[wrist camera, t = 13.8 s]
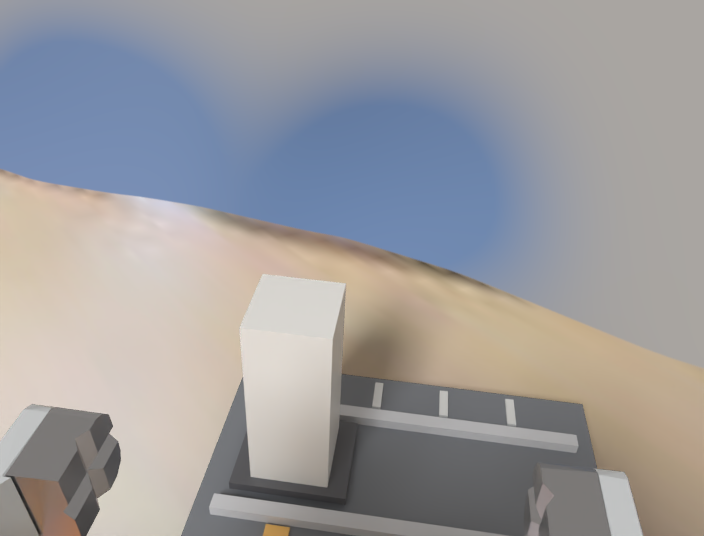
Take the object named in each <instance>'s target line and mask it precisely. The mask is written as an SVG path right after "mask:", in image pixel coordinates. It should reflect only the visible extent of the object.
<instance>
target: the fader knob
mask: <svg viewBox="0 0 704 536" xmlns="http://www.w3.org/2000/svg"><path fill="white" fill-rule="evenodd" d="M345 293H346V283H337V282H328V281H319V280H311V279H302V278H293V277H284V276H275V275H267V274H263V275H262V277H261V279H260V281H259V284H258V286H257V288H256V291H255V293H254V295H253V298H252V300H251V302H250V304H249V307H248V309H247V311H246V314H245V316H244V318H243V321H242V323H241V325H240V328H239V329H240V342H241V356H242V369H243V382H244V395H245V409H246V422H247V431H246V434H245V437H244V440H243V443H242V446H241V449H240V452H239V454H238V457H237V460H236V463H235V466H234V469H233V472H232V475H231V478H230V480H229V488H230V489H237V490H244V491H251V492H258V493H265V494H272V495H279V496H286V497H293V498H300V499H307V500H314V501H321V502H328V503H335V504H342V505H345V503H346V497H347V490H348V484H349V478H350V472H351V465H352V459H353V453H354V447H355V441H356V434H357V427H358V423H355V422H348V421H340V420H339V418H340V397H341V376H342V356H343V335H344V314H345Z"/></svg>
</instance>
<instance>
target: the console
mask: <svg viewBox="0 0 704 536" xmlns="http://www.w3.org/2000/svg"><path fill="white" fill-rule="evenodd" d="M339 420H340V421H348V422H355V423H358V427H357V434H356V441H355V447H354V453H353V459H352V465H351V472H350V478H349V484H348V490H347V497H346V503H345V505H342V504H335V503H328V502H321V501H314V500H307V499H300V498H293V497H286V496H279V495H272V494H265V493H258V492H251V491H244V490H237V489H230V488H229V480H230V478H231V475H232V472H233V469H234V466H235V463H236V460H237V457H238V454H239V452H240V449H241V446H242V443H243V440H244V437H245V434H246V431H247V422H246V409H245V395H244V382H243V378H242V380H241V383H240V385H239V388H238V391H237V393H236V396H235V398H234V401H233V403H232V406H231V409H230V411H229V414H228V416H227V419H226V421H225V424H224V427H223V429H222V432H221V434H220V437H219V439H218V442H217V445H216V447H215V450H214V452H213V455H212V458H211V460H210V463H209V465H208V468H207V470H206V473H205V476H204V478H203V481H202V483H201V486H200V488H199V491H198V494H197V496H196V499H195V501H194V504H193V507H192V509H191V512H190V514H189V517H188V519H187V522H186V525H185V527H184V530H183V532H182V535H181V536H525V533H524V508H525V500H526V496H527V492H528V489H530V488H532V487H533V477H532V474H533V470H534V467H535V465H536V464H537V462H541V463H551V464H561V465H571V466H582V467H592V468H593V469H597V466H596V462H595V457H594V453H593V449H592V444H591V440H590V435H589V431H588V427H587V422H586V418H585V414H584V409H583V405H582V404H575V403H567V402H559V401H551V400H543V399H535V398H528V397H520V396H512V395H504V394H496V393H488V392H480V391H472V390H464V389H456V388H448V387H440V386H432V385H424V384H416V383H408V382H400V381H393V380H385V379H377V378H369V377H361V376H353V375H345V374H342V376H341V397H340V418H339Z"/></svg>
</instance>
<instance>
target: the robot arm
mask: <svg viewBox="0 0 704 536" xmlns="http://www.w3.org/2000/svg"><path fill="white" fill-rule="evenodd" d="M112 427H113V425H112V422H111V419H110V417H109V415H108V414H101V413H94V412H87V411H80V410H73V409H66V408H59V407H51V406H43V405H35V404H32V405H30V406H28V407H27V408H25V409H24V410H23V411H22V412H21V414H20V415H19V416H18V418H17V419H16V420H15V422H14V423H13V424H12V426H11V427H10V428H9V430H8V431H7V433H6V434H5V435H4V437H3V438H2V439H1V441H0V536H86V535H87V533H88V531H89V529H90V527H91V525H92V524H93V522H94V520H95V518H96V516H97V514H98V512H99V510H100V508H99V504H98V499H97V498H99V497H100V496H101V495H103V494H104V493H106V492H107V491H108V490H110V489H111V487H112V485H113V483H114V481H115V479H116V477H117V473H118V469H119V465H120V461H121V456H120V447H119V443H118V441H117V440H116V439H115V438H114V437H112V436H111V435H110V434H109V432H110V431H111V429H112ZM532 477H533V487H532V488H530V489H528V492H527V496H526V500H525V508H524V533H525V536H643V532H642V528H641V525H640V521H639V517H638V514H637V510H636V506H635V503H634V499H633V495H632V491H631V488H630V484H629V480H628V477H627V476H626V474H625V473H624V472H621V471H613V470H603V469H593V468H592V467H582V466H571V465H561V464H551V463H541V462H537V464H536V465H535V467H534V470H533V474H532Z"/></svg>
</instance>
